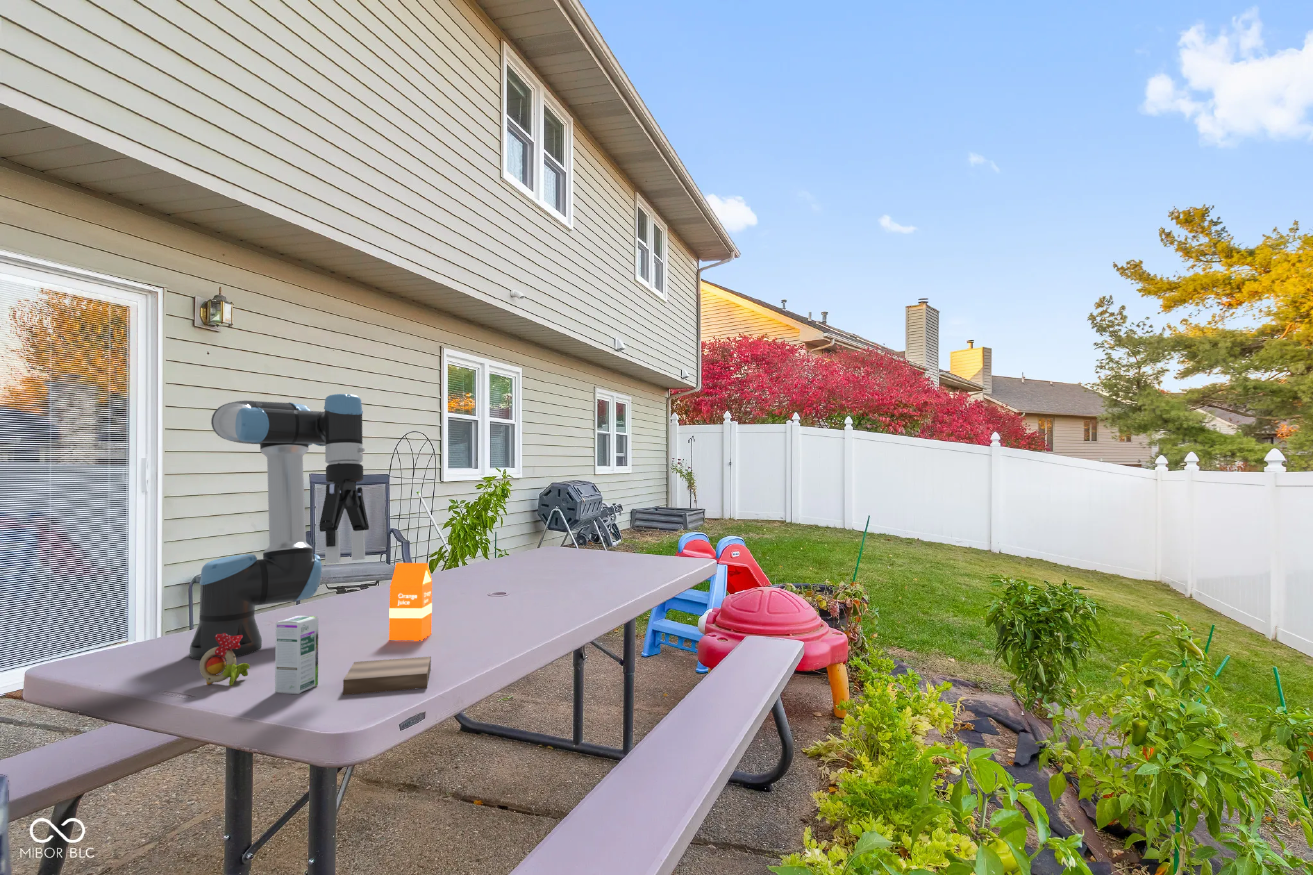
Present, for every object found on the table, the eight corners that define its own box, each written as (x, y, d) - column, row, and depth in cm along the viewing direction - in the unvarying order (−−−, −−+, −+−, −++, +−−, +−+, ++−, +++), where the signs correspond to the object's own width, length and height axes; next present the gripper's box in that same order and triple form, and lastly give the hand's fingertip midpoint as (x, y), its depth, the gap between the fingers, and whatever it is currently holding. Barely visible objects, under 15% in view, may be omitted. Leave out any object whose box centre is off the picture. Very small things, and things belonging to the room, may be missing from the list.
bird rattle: (202, 699, 138) (245, 680, 139) (180, 650, 138) (224, 631, 139) (217, 689, 144) (259, 671, 145) (197, 642, 144) (239, 624, 145)
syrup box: (298, 694, 135) (300, 621, 135) (273, 692, 136) (275, 620, 136) (318, 685, 140) (320, 615, 141) (293, 683, 141) (295, 614, 142)
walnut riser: (354, 675, 147) (354, 661, 147) (430, 669, 151) (430, 656, 151) (343, 694, 134) (343, 679, 135) (426, 688, 139) (427, 673, 139)
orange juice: (421, 641, 177) (422, 565, 178) (388, 640, 177) (389, 564, 178) (431, 633, 184) (433, 560, 185) (400, 633, 185) (401, 560, 186)
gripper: (338, 457, 136) (340, 562, 133) (381, 467, 160) (384, 557, 158) (300, 459, 135) (301, 565, 132) (349, 470, 160) (351, 559, 157)
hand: (346, 561), depth 145 cm, fingers open, 13 cm apart
